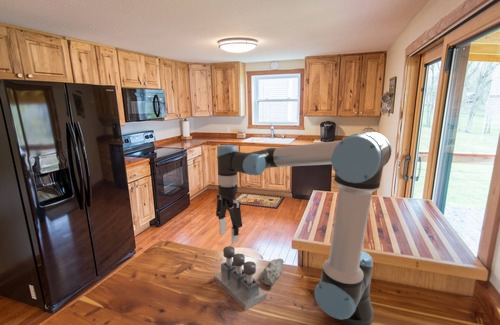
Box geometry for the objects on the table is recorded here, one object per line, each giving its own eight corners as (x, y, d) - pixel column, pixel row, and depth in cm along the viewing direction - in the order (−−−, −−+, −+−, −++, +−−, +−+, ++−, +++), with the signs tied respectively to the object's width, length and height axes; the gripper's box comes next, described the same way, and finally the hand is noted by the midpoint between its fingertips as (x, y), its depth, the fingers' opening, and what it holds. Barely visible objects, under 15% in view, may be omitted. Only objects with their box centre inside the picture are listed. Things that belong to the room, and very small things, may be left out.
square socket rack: (266, 298, 100) (266, 282, 99) (245, 310, 94) (245, 293, 93) (233, 270, 117) (233, 256, 116) (214, 279, 111) (214, 264, 110)
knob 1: (236, 270, 110) (236, 249, 108) (227, 274, 107) (227, 253, 105) (230, 265, 113) (230, 245, 111) (221, 269, 110) (221, 248, 108)
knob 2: (247, 279, 104) (246, 257, 102) (237, 283, 101) (237, 261, 100) (240, 273, 108) (240, 252, 106) (231, 277, 105) (230, 256, 103)
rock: (270, 264, 122) (270, 251, 120) (285, 268, 119) (285, 255, 117) (256, 284, 108) (256, 269, 107) (272, 289, 105) (272, 274, 104)
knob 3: (258, 288, 99) (258, 265, 97) (248, 293, 96) (248, 270, 94) (250, 282, 102) (250, 260, 100) (241, 287, 100) (241, 264, 98)
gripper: (251, 189, 97) (251, 245, 101) (221, 177, 113) (222, 226, 117) (235, 193, 92) (235, 251, 97) (206, 180, 108) (208, 230, 113)
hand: (228, 237), depth 107 cm, fingers open, 8 cm apart
